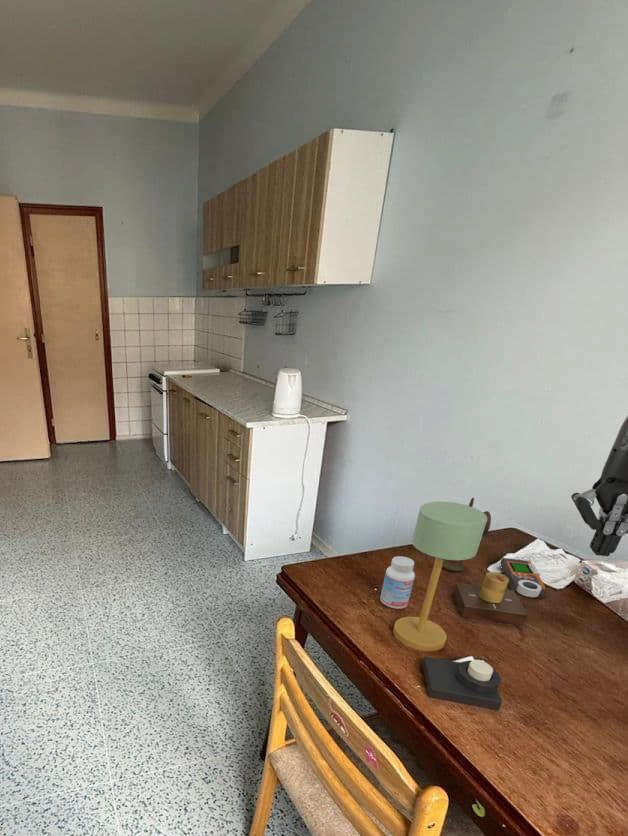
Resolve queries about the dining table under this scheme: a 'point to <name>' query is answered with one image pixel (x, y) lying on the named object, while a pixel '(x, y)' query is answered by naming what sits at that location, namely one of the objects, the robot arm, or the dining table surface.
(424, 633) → the table lamp
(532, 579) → the electronic device
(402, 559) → the pill bottle
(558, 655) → the dining table surface
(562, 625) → the dining table surface
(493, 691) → the switch base
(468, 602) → the dimmer
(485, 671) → the lamp switch
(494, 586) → the dimmer knob
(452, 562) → the kendama
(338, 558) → the dining table surface
